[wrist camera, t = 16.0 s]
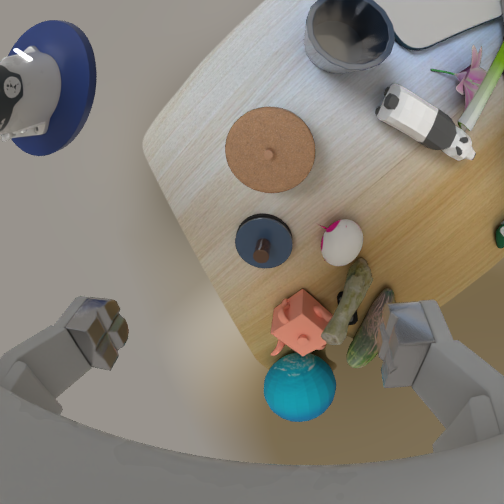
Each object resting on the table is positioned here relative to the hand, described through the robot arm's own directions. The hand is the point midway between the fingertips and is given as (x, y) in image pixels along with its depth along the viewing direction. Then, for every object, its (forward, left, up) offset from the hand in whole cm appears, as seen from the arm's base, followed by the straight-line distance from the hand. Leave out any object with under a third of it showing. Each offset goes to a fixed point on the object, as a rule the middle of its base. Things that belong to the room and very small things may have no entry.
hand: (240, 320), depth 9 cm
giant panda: (+18, +1, -37) cm, 41 cm away
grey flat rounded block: (+25, +21, -37) cm, 49 cm away
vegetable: (+13, -47, -34) cm, 59 cm away
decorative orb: (+2, -56, -27) cm, 62 cm away
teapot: (+1, -33, -37) cm, 50 cm away
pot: (+8, +12, -37) cm, 40 cm away
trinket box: (-2, -2, -37) cm, 37 cm away
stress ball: (+7, -17, -37) cm, 41 cm away
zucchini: (+5, -29, -25) cm, 38 cm away
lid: (-5, -18, -36) cm, 40 cm away
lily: (+21, +8, -36) cm, 42 cm away
